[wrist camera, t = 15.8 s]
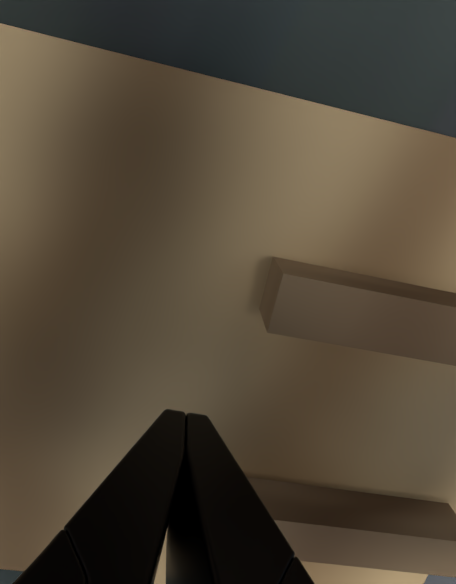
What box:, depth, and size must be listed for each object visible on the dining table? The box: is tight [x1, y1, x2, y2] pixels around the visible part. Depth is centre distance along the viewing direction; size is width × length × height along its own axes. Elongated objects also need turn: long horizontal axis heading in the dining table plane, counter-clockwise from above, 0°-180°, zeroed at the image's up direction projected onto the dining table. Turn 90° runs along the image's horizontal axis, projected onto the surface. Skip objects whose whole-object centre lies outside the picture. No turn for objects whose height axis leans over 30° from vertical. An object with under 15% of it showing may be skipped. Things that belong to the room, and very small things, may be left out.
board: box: [0, 23, 456, 584], centre depth 9 cm, size 22×13×2 cm, turn 78°
